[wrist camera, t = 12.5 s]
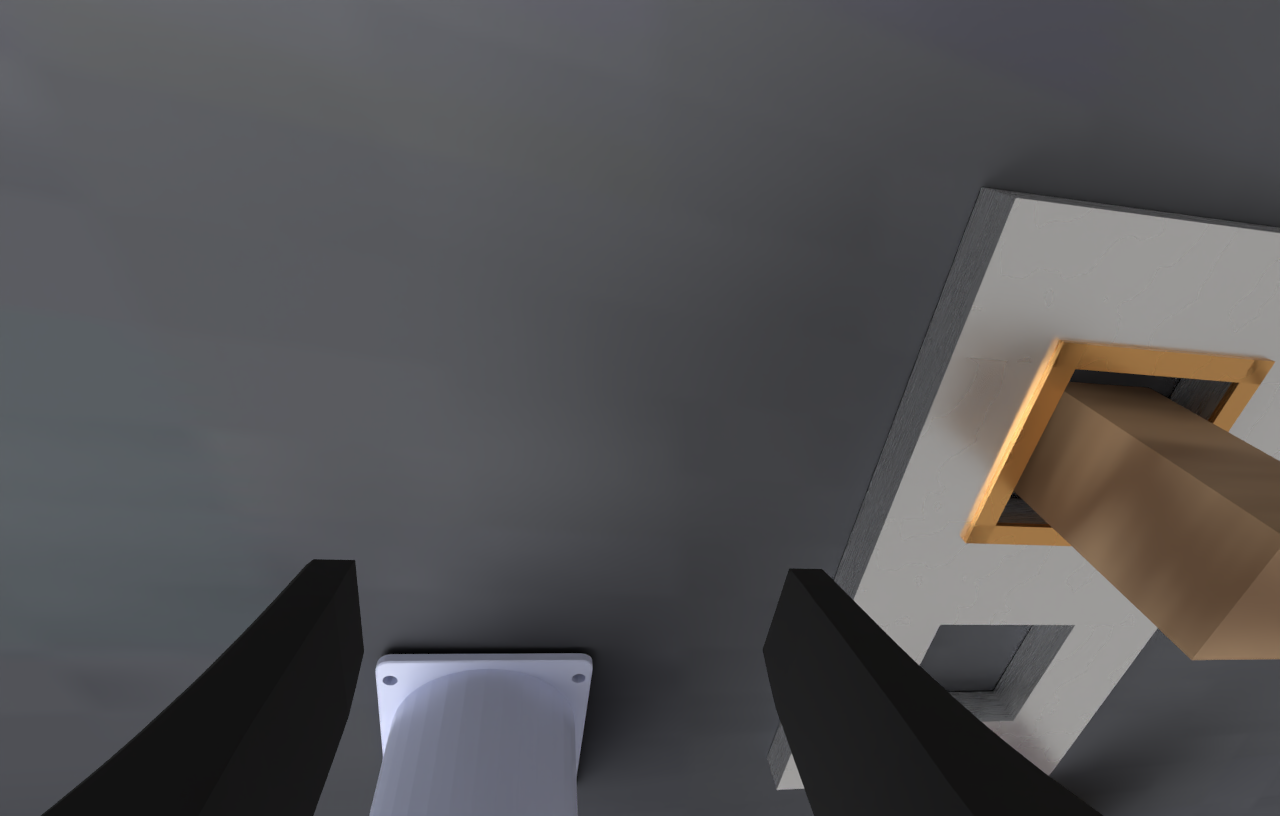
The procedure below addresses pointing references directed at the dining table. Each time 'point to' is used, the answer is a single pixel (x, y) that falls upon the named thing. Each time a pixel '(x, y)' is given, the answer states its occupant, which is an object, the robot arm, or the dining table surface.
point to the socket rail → (1015, 420)
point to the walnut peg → (1166, 515)
